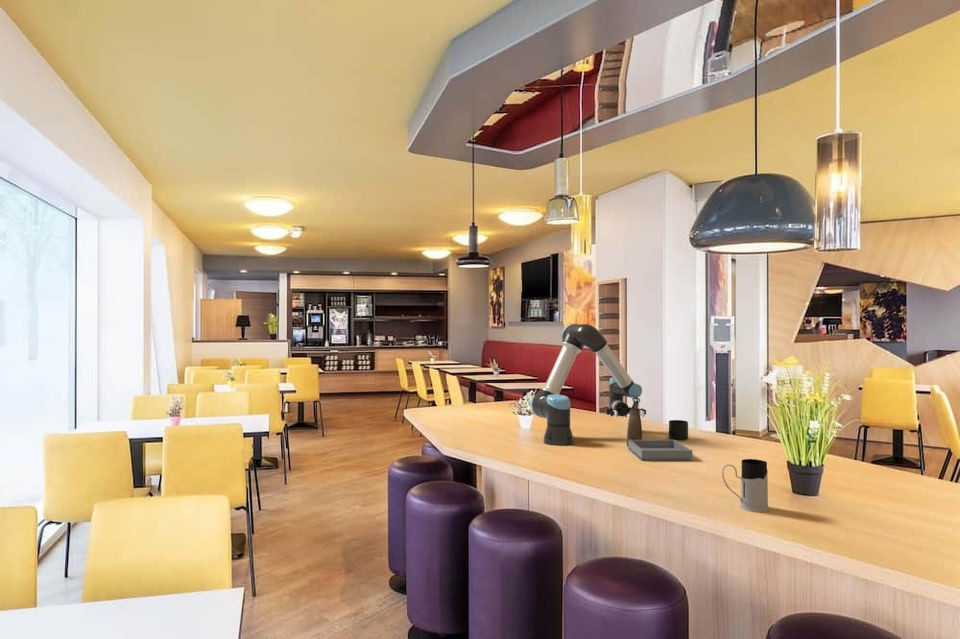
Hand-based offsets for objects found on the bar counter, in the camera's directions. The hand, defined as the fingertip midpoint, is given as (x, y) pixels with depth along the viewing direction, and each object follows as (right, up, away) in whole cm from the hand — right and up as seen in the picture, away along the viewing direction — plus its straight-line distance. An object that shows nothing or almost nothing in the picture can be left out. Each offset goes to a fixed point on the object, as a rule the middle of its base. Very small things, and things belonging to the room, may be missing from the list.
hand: (630, 414), depth 304 cm
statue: (0, -14, -9) cm, 17 cm away
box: (+6, -14, -29) cm, 33 cm away
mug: (+26, -14, +7) cm, 30 cm away
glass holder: (+10, -13, -109) cm, 110 cm away
